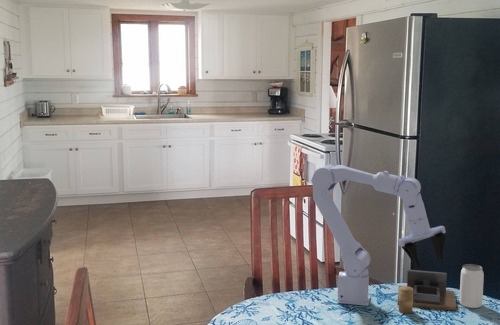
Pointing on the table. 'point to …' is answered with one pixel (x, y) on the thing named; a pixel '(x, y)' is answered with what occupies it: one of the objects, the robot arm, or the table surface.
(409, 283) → the bracket
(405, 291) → the dowel
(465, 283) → the can
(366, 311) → the table surface
